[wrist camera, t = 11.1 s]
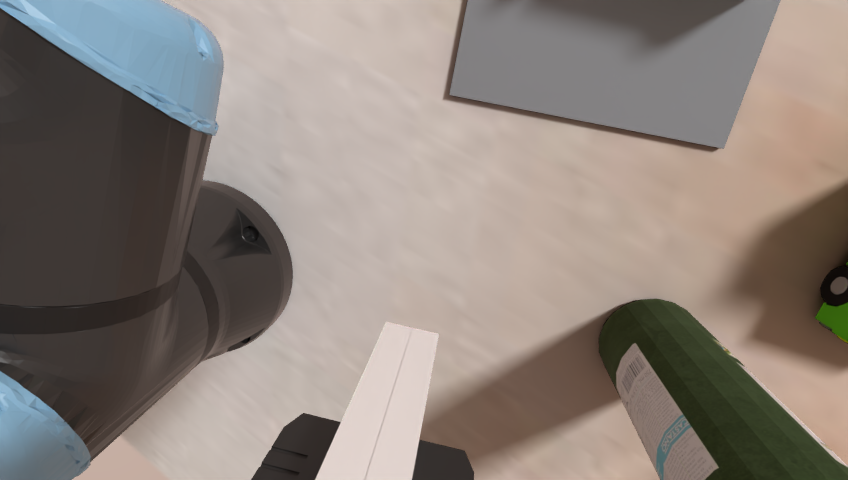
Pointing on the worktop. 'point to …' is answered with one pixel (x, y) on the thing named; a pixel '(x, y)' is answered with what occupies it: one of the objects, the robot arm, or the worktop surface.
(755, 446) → the wine bottle
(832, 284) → the toy car
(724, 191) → the worktop surface
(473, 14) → the mat
